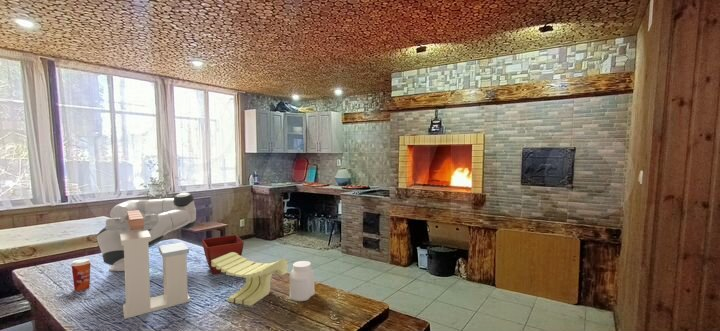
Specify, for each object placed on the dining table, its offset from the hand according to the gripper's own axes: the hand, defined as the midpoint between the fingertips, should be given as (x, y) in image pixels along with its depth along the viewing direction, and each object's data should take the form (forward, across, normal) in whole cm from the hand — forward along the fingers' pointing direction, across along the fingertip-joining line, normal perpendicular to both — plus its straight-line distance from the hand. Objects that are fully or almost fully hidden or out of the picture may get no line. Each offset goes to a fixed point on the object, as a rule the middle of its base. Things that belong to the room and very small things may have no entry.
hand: (133, 215), depth 144 cm
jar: (+21, +61, +56) cm, 86 cm away
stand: (-8, +7, +40) cm, 41 cm away
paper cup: (-46, -20, +18) cm, 53 cm away
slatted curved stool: (+8, +42, +49) cm, 65 cm away
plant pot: (-30, +42, +27) cm, 58 cm away
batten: (+7, 0, +7) cm, 10 cm away
